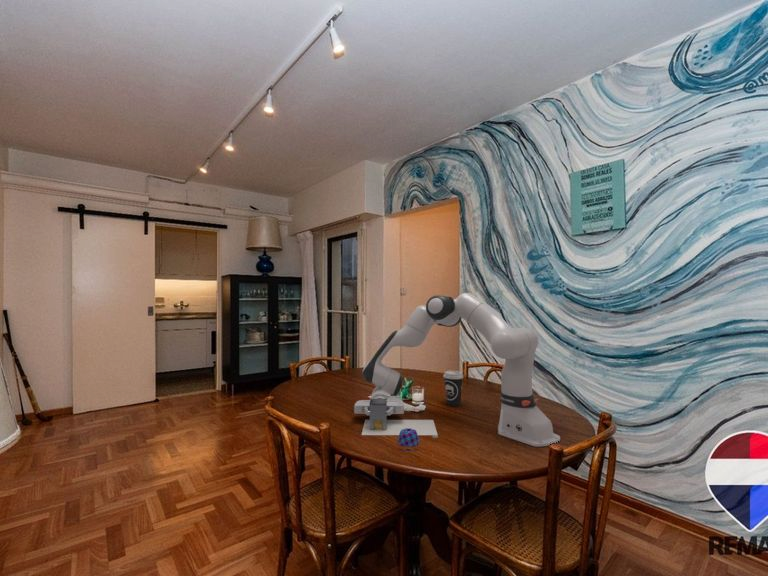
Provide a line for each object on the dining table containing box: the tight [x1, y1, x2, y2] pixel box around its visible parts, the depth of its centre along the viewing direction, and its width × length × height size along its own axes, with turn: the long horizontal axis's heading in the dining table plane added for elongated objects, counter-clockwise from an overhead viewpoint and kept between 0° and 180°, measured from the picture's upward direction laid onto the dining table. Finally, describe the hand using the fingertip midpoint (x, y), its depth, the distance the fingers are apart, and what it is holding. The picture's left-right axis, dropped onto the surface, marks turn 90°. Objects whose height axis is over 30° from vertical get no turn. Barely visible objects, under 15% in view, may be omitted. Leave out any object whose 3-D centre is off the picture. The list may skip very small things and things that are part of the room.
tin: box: [369, 399, 388, 430], centre depth 140 cm, size 6×6×10 cm
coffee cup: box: [442, 370, 464, 407], centre depth 171 cm, size 10×10×15 cm
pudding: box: [397, 428, 422, 452], centre depth 125 cm, size 12×12×5 cm
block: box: [374, 420, 383, 429], centre depth 140 cm, size 4×4×4 cm
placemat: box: [361, 419, 439, 439], centre depth 140 cm, size 28×16×1 cm, turn 88°
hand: (378, 413), depth 139 cm, fingers closed on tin, 6 cm apart
